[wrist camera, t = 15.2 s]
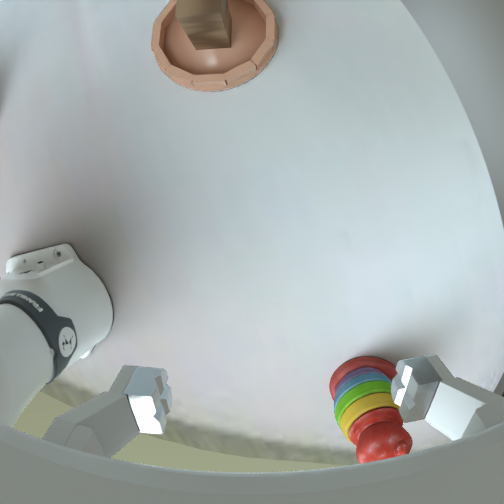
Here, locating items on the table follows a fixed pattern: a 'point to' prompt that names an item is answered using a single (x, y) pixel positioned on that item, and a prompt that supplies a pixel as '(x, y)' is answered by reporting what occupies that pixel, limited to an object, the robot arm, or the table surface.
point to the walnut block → (205, 22)
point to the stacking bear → (369, 409)
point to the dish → (217, 60)
